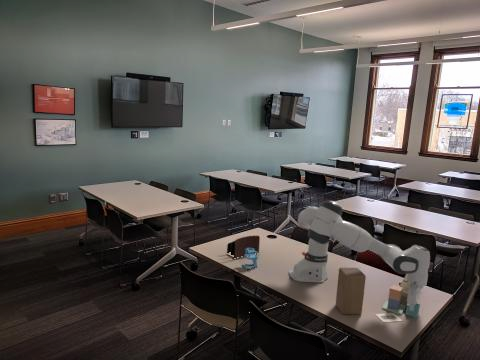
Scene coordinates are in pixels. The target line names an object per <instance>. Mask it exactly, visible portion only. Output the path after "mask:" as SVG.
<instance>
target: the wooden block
mask: <svg viewBox="0 0 480 360" xmlns="http://www.w3.org/2000/svg"><path fill="white" fill-rule="evenodd" d="M366 279H367V277H366V275H365V273H363V271H361V270H360V268H358V267H339V268H338V277H337V285H336V296H335V306H336V307H337V309H338V310H339V312H340V313H341V314H342V315H362V312H363V306H364V305H363V303H364V295H365V287H366Z"/></svg>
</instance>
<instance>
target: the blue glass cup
mask: <svg viewBox="0 0 480 360" xmlns="http://www.w3.org/2000/svg"><path fill="white" fill-rule="evenodd" d="M249 249H251V250H249ZM254 250H255V249H253V248H247V249H245V251H246V254H244V256H245V257H244V258H246V259H247V260H249V261H250V260H251V261H252V263H242V264H243V265H242V267H243V266H244V267H245V268H246V269H249V270H251V269H250V268H252V269H255V268H254V267H256V268H258V262H257V260H258V259H259V257H258V255H257V253H258V252H256V251H254ZM247 252H248V254H247ZM250 253H253V254H250ZM254 253H256V255H255V254H254ZM244 264H245V265H244ZM247 265H255V266H249V267H248V266H247ZM244 267H243V268H244ZM245 268H244V269H245ZM246 269H245V270H246Z"/></svg>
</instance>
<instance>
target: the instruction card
mask: <svg viewBox="0 0 480 360" xmlns="http://www.w3.org/2000/svg"><path fill="white" fill-rule="evenodd" d="M374 315H375V316H376V317H377V318H378V319H379V320H380V321H381V322H382V323H395V322H403V320H402V319H401V318H400V317H399V316H398V314H396V313H393V312H387V313H386V312H385V313H374Z"/></svg>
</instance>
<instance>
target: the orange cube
mask: <svg viewBox="0 0 480 360" xmlns="http://www.w3.org/2000/svg"><path fill="white" fill-rule="evenodd" d="M402 289H403V288H402V287H399V286H397V285H396V284H395V285H394V284H391V286H390V287H389V293H388V299H389V298H391V299H394V300H398V301H400V299H401V297H402Z"/></svg>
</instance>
